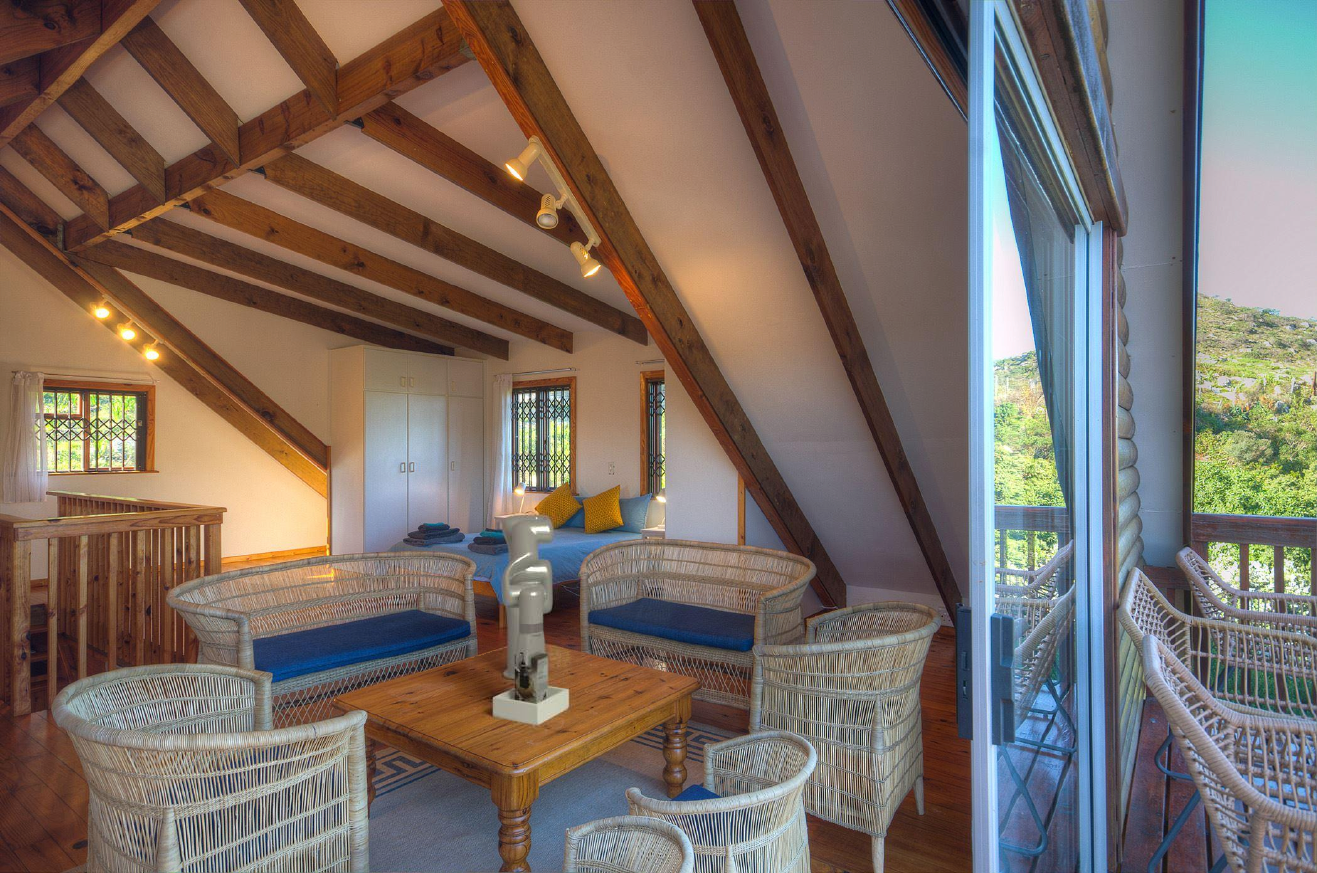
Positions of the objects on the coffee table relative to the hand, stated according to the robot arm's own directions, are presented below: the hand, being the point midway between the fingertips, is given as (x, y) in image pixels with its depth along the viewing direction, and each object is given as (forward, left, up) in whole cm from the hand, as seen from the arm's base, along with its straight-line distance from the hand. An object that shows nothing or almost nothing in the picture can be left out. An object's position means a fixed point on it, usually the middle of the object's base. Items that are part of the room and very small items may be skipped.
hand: (531, 683), depth 235 cm
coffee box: (0, 0, -7) cm, 7 cm away
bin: (0, 0, -9) cm, 9 cm away
